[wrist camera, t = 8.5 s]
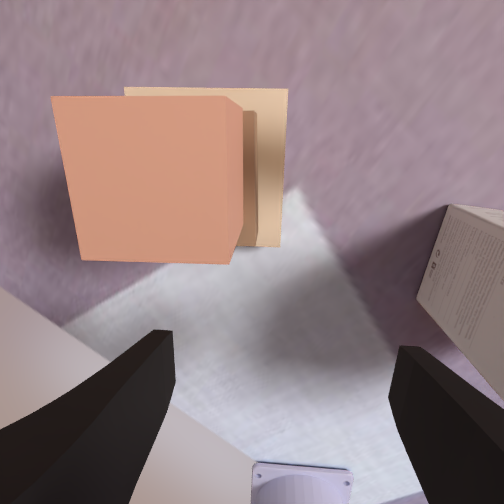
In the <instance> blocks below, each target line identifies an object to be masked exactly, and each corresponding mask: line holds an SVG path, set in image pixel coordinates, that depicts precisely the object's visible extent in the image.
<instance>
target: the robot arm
mask: <svg viewBox="0 0 504 504" xmlns="http://www.w3.org/2000/svg"><path fill="white" fill-rule="evenodd" d="M175 382H176V379H175V363H174V347H173V331H168V330H153V331H151V332H150V333H149V334H147V335H146V336H145V337H143V338H142V339H141V340H140V341H138V342H137V343H136V344H134V345H133V346H132V347H131V348H129V349H128V350H127V351H125V352H124V353H123V354H121V355H120V356H119V357H117V358H116V359H115V360H113V361H112V362H111V363H109V364H108V365H107V366H105V367H104V368H102V369H101V370H100V371H98V372H97V373H95V374H94V375H92V376H91V377H90V378H88V379H87V380H85V381H84V382H82V383H81V384H79V385H78V386H76V387H75V388H73V389H72V390H70V391H69V392H67V393H66V394H64V395H62V396H61V397H59V398H57V399H56V400H54V401H52V402H51V403H49V404H47V405H45V406H44V407H42V408H40V409H39V410H37V411H35V412H33V413H32V414H30V415H28V416H26V417H24V418H22V419H20V420H18V421H16V422H14V423H12V424H10V425H8V426H6V427H4V428H2V429H1V430H0V504H129V501H130V499H131V496H132V494H133V491H134V488H135V486H136V483H137V481H138V479H139V476H140V474H141V472H142V469H143V467H144V465H145V462H146V460H147V458H148V455H149V453H150V451H151V448H152V446H153V444H154V441H155V439H156V437H157V434H158V432H159V430H160V427H161V425H162V422H163V420H164V418H165V415H166V413H167V410H168V406H169V403H170V400H171V396H172V393H173V389H174V386H175ZM388 398H389V402H390V406H391V410H392V413H393V417H394V420H395V423H396V427H397V430H398V432H399V435H400V437H401V440H402V442H403V445H404V447H405V449H406V452H407V454H408V456H409V459H410V461H411V463H412V466H413V468H414V470H415V473H416V475H417V477H418V480H419V482H420V484H421V487H422V489H423V491H424V494H425V496H426V498H427V501H428V503H429V504H504V409H503V408H501V407H500V406H499V405H497V404H496V403H495V402H493V401H492V400H490V399H489V398H488V397H486V396H485V395H484V394H482V393H481V392H479V391H478V390H477V389H475V388H474V387H473V386H472V385H470V384H469V383H468V382H466V381H465V380H464V379H462V378H461V377H460V376H458V375H457V374H456V373H454V372H453V371H452V370H451V369H449V368H448V367H447V366H445V365H444V364H443V363H441V362H440V361H439V360H437V359H436V358H435V357H434V356H432V355H431V354H429V353H428V352H427V351H425V350H424V349H422V348H421V347H414V346H400V347H399V351H398V356H397V360H396V364H395V369H394V373H393V378H392V382H391V387H390V391H389V396H388ZM353 480H354V478H353V474H352V472H350V471H348V470H337V469H326V468H314V467H302V466H290V465H278V464H267V463H256V464H254V465H253V469H252V490H251V504H349V500H350V495H351V490H352V485H353Z"/></svg>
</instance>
